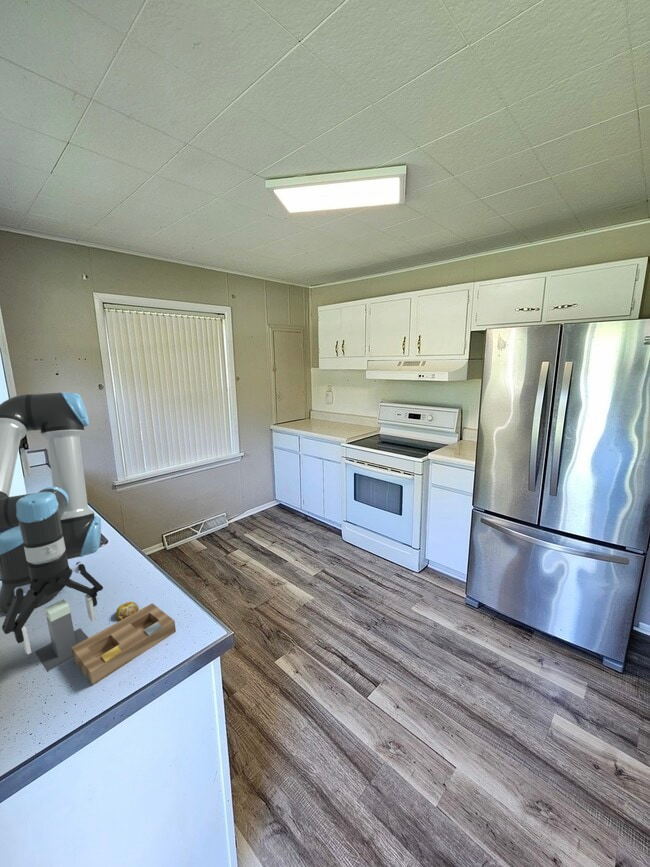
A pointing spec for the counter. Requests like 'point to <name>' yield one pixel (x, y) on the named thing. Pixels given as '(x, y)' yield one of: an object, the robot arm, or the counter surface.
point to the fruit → (126, 610)
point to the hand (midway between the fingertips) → (61, 633)
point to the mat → (51, 658)
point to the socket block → (122, 642)
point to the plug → (60, 627)
